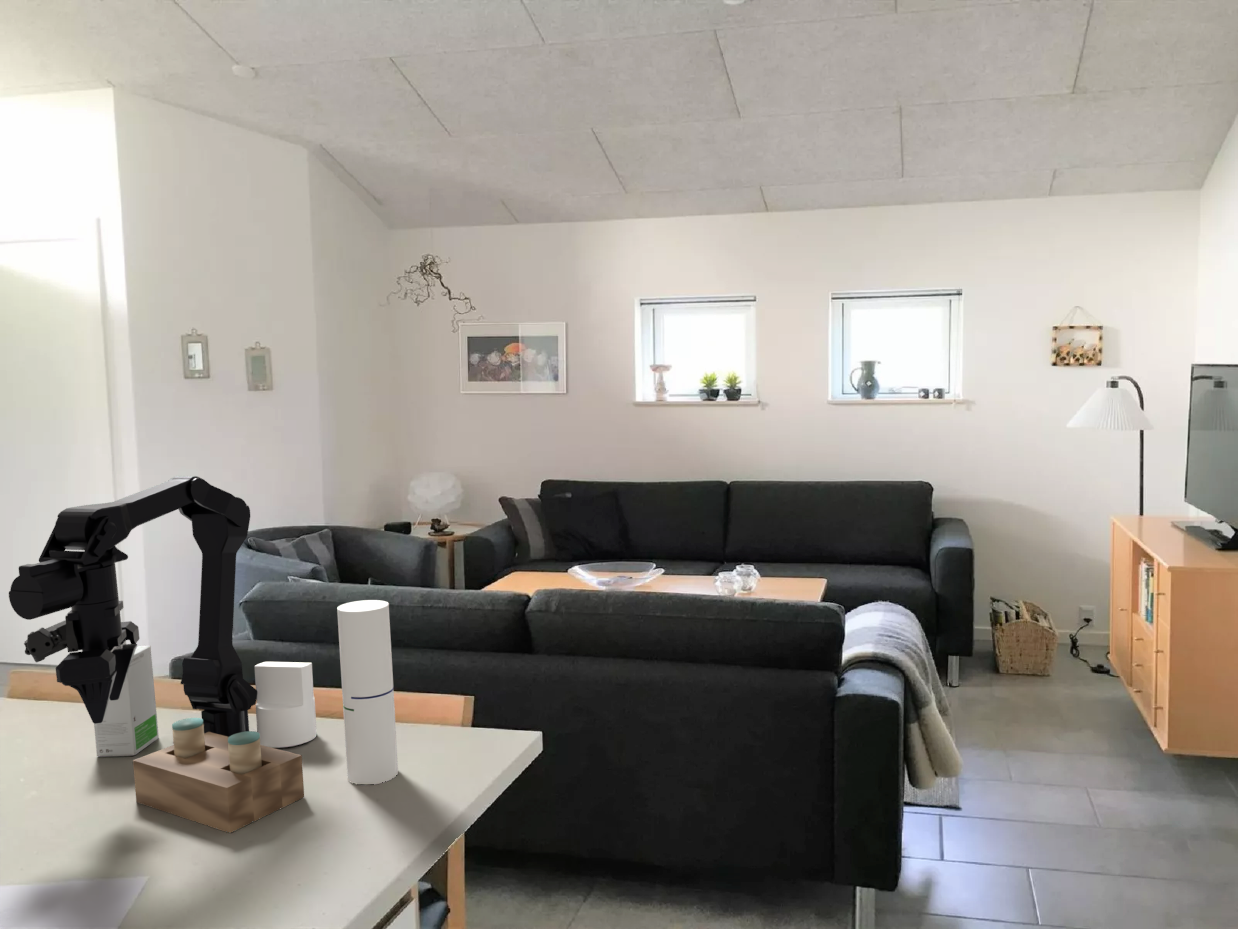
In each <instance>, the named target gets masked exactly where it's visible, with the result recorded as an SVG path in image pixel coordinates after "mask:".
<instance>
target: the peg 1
mask: <svg viewBox="0 0 1238 929" xmlns="http://www.w3.org/2000/svg"><path fill="white" fill-rule="evenodd" d="M171 727H172V728H171V729H172V730H171V731H172V740H173V745H174V756H177V757H181V758H184V759H186V758H189V757H192V756H194V755H197V754H199V753H202V752H204V751H205V739H204V726H203V719H202V717H201V718H200V717H188V718H187V717H186V718H182V719H179V720H176V721H174V722H173V723H172V725H171Z"/></svg>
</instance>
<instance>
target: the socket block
mask: <svg viewBox="0 0 1238 929" xmlns="http://www.w3.org/2000/svg"><path fill="white" fill-rule="evenodd" d="M228 738H229V737H227V736H223V735H219V734H215V733H212V732H207V733H204V739H205V751H204V752H202V753H199V754H197V755H194V756H192V757H189V758H186V759H184V758H181V757H177V756H174V744H173V745H170V746H167V747H164V748H162V749H159V750H156V751H153V752H151V753H149V754H146V755H144V756H141V757H137V758H136V759H133V760H132V766H133V768H132V769H133V776H134V790H135V801H136V803H137V804H141V805H144V806H147V807H150V808H153V809H155V810H157V811H158V810H159V811H162V812H165V813H167V814H171V815H174V816H177V817H180V818H183V819H186V820H189V821H192V822H195V821H196V823H199V824H201V825H205V826H207V825H208V827H210V828H214V829H216V828H217V829H216V830H220V831H222V832H225V833H228V832H230V833H229V834H231V832H232V831H234V832H235V830H236V831H237V829H238V830H240V829H242V828H244V827H245V825H246V826H247V825H250V824H252V823H253V822H252V821H254V822H257V821H258V820H260V819H262V817H263V818H264V816H265V817H266V815H267V816H269V815H271V814H273V813H274V811H275V812H277V811H280V810H281V809H283V808H286V807H287V806H289V805H291V804H293V803H295V801H296V802H298V801H300V800H302V799H303V797H304V798H305V788H304V773H303V769H304V768H303V758H302V757H303V756H302V754H298V753H294V752H290V751H286V750H284V749H283V750H282V749H279V748H271V747H267V746H263V745H260V747H261V761H262V767H260V768H257V769H255V770H253V771H250V772H248V773H246V774H243V775H241V774H238V773H234V772H231V771H230V763H229V749H228ZM301 798H302V799H301ZM280 808H281V809H280ZM259 818H260V819H259ZM251 822H252V823H251ZM239 828H240V829H239ZM226 831H227V832H226ZM232 833H233V832H232Z"/></svg>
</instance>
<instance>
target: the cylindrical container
mask: <svg viewBox="0 0 1238 929" xmlns="http://www.w3.org/2000/svg"><path fill="white" fill-rule="evenodd" d="M336 609H337V611H336V613H337V626H338V628H337V630H338V642H339V643H338V644H339V645H338V646H339V660H340V677H341V678H340V679H341V695H342V705H343V706H342V710H343V712H342V713H343V724H344V726H343V728H344V738H345V739H344V740H345V745H344V746H345V758H346V771H347V772H346V774H347V775H346V776H347V780H349V781H351V782H353V783H357V784H374V785H378V784H383V783H386V782H389V781H391V780H393V779H394V778H396V777H397V776H396V775H399V763H398V745H397V727H396V709H395V707H396V706H395V694H394V693H395V692H394V675H393V658H392V657H393V656H392V640H391V624H390V623H391V621H390V603H389V602H388V601H385V600H379V599H364V600H363V599H362V600H355V601H350V602H345V603H342V604H339V605H338V606H337V608H336ZM392 778H393V779H392ZM349 781H348V782H349ZM385 781H386V782H385ZM351 782H350V783H351ZM382 782H383V783H382ZM353 783H352V784H353ZM357 784H356V785H357Z"/></svg>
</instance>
